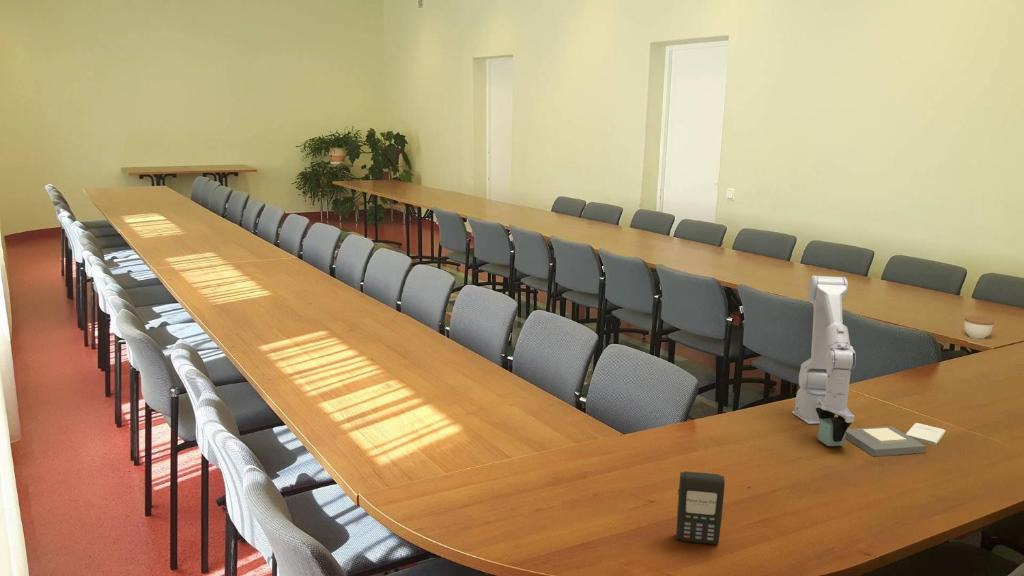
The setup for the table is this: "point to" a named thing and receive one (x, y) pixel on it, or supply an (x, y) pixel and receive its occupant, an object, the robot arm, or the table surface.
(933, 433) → the external hard drive
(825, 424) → the block
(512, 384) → the table surface
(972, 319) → the lidded jar
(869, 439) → the base board
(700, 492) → the card reader
